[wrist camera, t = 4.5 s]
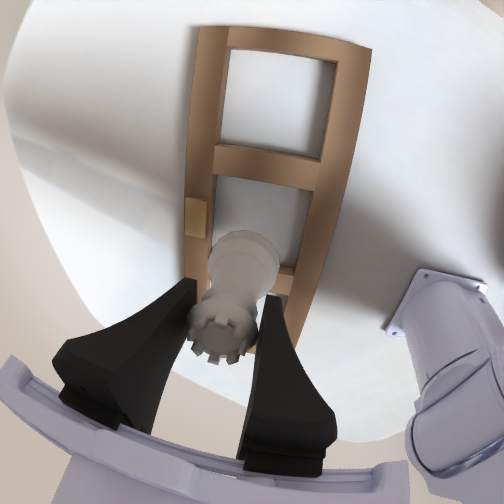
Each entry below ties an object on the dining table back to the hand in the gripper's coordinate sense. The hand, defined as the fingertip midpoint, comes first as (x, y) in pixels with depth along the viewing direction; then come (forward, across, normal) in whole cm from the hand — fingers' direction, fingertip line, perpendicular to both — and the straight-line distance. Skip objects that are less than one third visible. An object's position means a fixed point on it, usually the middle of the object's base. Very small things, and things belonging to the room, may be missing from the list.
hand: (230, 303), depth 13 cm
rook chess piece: (+6, 0, +1) cm, 6 cm away
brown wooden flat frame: (+9, 0, 0) cm, 9 cm away
